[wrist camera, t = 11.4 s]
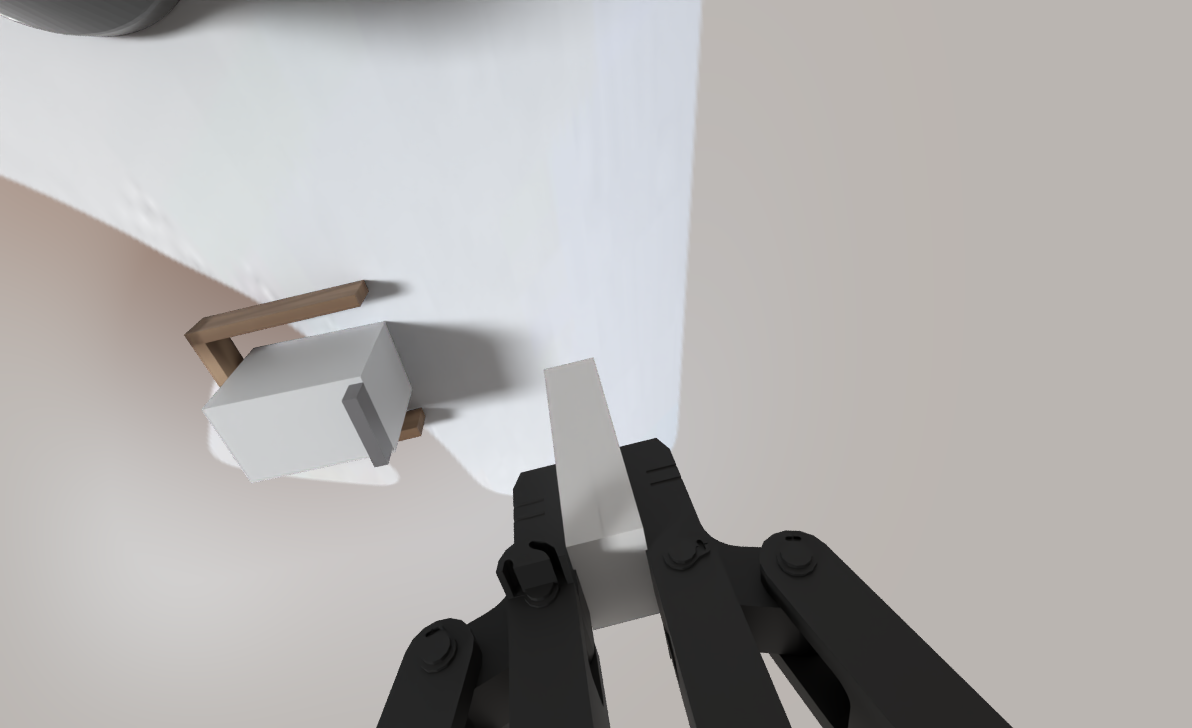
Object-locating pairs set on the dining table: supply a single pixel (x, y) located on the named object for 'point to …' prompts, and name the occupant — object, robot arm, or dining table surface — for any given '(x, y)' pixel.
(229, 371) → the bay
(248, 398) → the grey box with ridge
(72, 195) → the dining table surface
